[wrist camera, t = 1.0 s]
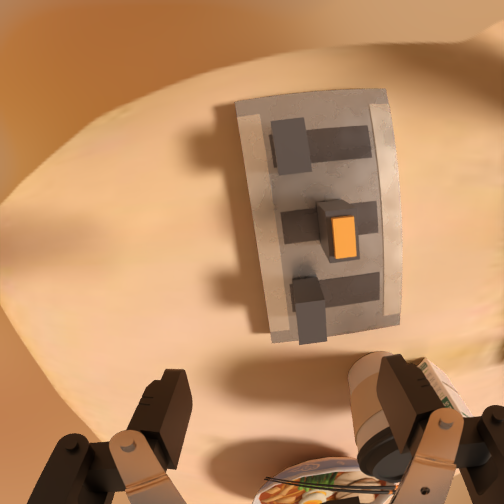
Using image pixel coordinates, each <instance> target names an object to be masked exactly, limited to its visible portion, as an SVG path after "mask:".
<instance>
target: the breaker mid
mask: <svg viewBox="0 0 504 504" xmlns="http://www.w3.org/2000/svg"><path fill="white" fill-rule="evenodd" d="M316 204H317V212H318V222H319V231H320V241H321V247H322V249H323V251H324V253H325V255H326V257H327V259H328V261H329V263H337V262H344V261H352V260H359V259H360V251H359V234H358V220H357V208H356V207H354V206H352V205H351V204H349V203H347V202H346V201H344V200H334V201H325V202H316Z"/></svg>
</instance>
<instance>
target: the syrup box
mask: <svg viewBox="0 0 504 504" xmlns="http://www.w3.org/2000/svg"><path fill="white" fill-rule="evenodd" d="M417 367H418V368H420V369H421V370H422V372H423V373H424V375H425V376H426V379H428V381H429V382H430V385H432V387H433V389H434V390H435V392H436V393H437V395H438V396H439V398H440V400H441V401H442V403H443V404H444V406H445V408H451V409H454V410H456V411H458V412H459V413H460V414H461V415H462V417H474V416H473V415H472V413H471V412H470V410H469V408H468V407H467V405H466V404H465V402H464V401H463V399H462V398H461V396H460V394H459V393H458V391H457V390H456V388H455V387H454V385H453V384H452V382H451V381H450V379H449V378H448V376H447V375H446V373H445V372H443V371H442V370H441V369H440V368H438V367H437V366H436V365H435V364H433V363H432V362H431V361H430V360H428V359H427V358H424V359H423V360H422V362H421V363H420V364H419V365H418V366H417Z"/></svg>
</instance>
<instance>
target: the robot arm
mask: <svg viewBox="0 0 504 504" xmlns="http://www.w3.org/2000/svg"><path fill="white" fill-rule="evenodd" d="M376 391H377V397H378V400H379V402H380V404H381V407H382V409H383V412H384V414H385V416H386V419H387V421H388V424H389V426H390V429H391V431H392V434H393V436H394V439H395V441H396V444H397V446H398V449H399V451H400V454H405V453H408V452H410V453H411V455H412V458H411V460H410V462H409V465H408V467H407V469H406V471H405V473H404V476H403V478H402V480H401V482H400V484H399V486H398V488H397V490H396V492H395V494H394V496H393V497H392V499H391V501H390V503H389V504H444V503H445V500H446V497H447V494H448V491H449V488H450V486H451V482H452V479H453V476H454V473H455V470H456V468H459V470H460V472H461V475H462V477H463V479H464V482H465V485H466V487H467V490H468V492H469V495H470V497H471V500H472V503H473V504H504V407H503V406H499V405H492V406H489V407H487V408H486V409H485V410H484V412H483V414H482V416H479V417H462V415H461V414H460V413H459V412H458V411H456V410H454V409H451V408H445V406H444V404H443V403H442V401H441V400H440V398H439V396H438V395H437V393H436V392H435V390H434V389H433V387H432V385H430V382H429V381H428V379H426V376H425V375H424V373H423V372H422V370H421V369H420V368H418V367H417V366H415V365H414V364H412V363H411V364H407V363H406V361H405V360H404V358H403V357H402V355H401V354H395V355H390V356H384V357H382V359H381V364H380V369H379V375H378V380H377V386H376ZM191 412H192V395H191V391H190V387H189V383H188V379H187V375H186V372H185V370H184V369H166V370H165V371H164V374H163V376H162V378H161V380H154V381H153V382H152V383H151V384H149V385H148V386H147V387H146V389H145V391H144V393H143V395H142V398H141V399H140V402H139V405H138V406H137V408H136V410H135V412H134V414H133V417H132V419H131V421H130V423H129V425H128V427H127V429H126V430H124V431H121V432H119V433H117V434H115V435H114V436H113V437H112V438H111V440H110V441H109V442H98V443H89V442H88V440H87V438H86V437H84V436H83V435H81V434H76V433H74V434H68V435H66V436H64V437H63V438H61V439H60V440H59V441H58V443H57V445H56V447H55V448H54V450H53V452H52V454H51V456H50V458H49V460H48V462H47V464H46V466H45V468H44V470H43V472H42V474H41V475H40V478H39V480H38V482H37V484H36V486H35V488H34V490H33V492H32V494H31V496H30V498H29V500H28V503H27V504H111V503H112V500H113V497H114V493H115V492H117V491H125V492H126V494H127V496H128V499H129V501H130V503H131V504H186V502H185V501H184V499H183V498H182V496H181V495H180V493H179V492H178V490H177V489H176V487H175V486H174V484H173V483H172V481H171V480H170V478H169V477H168V475H167V474H166V470H167V469H175V470H176V469H177V465H178V461H179V457H180V453H181V449H182V446H183V442H184V438H185V434H186V431H187V427H188V423H189V419H190V415H191ZM320 504H368V503H360V500H359V496H355V497H350V498H344V499H338V500H331V501H326V502H323V503H320Z"/></svg>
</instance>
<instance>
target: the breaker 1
mask: <svg viewBox="0 0 504 504" xmlns="http://www.w3.org/2000/svg"><path fill="white" fill-rule="evenodd" d="M270 122H271V130H272V136H273V143H274V149H275V156H276V162H277V169H278V174H279V176H281V175H288V174H296V173H305V172H312V167H311V160H310V153H309V146H308V139H307V133H306V127H305V120H304V117H301V118H292V119H284V120H276V121H270Z"/></svg>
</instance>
